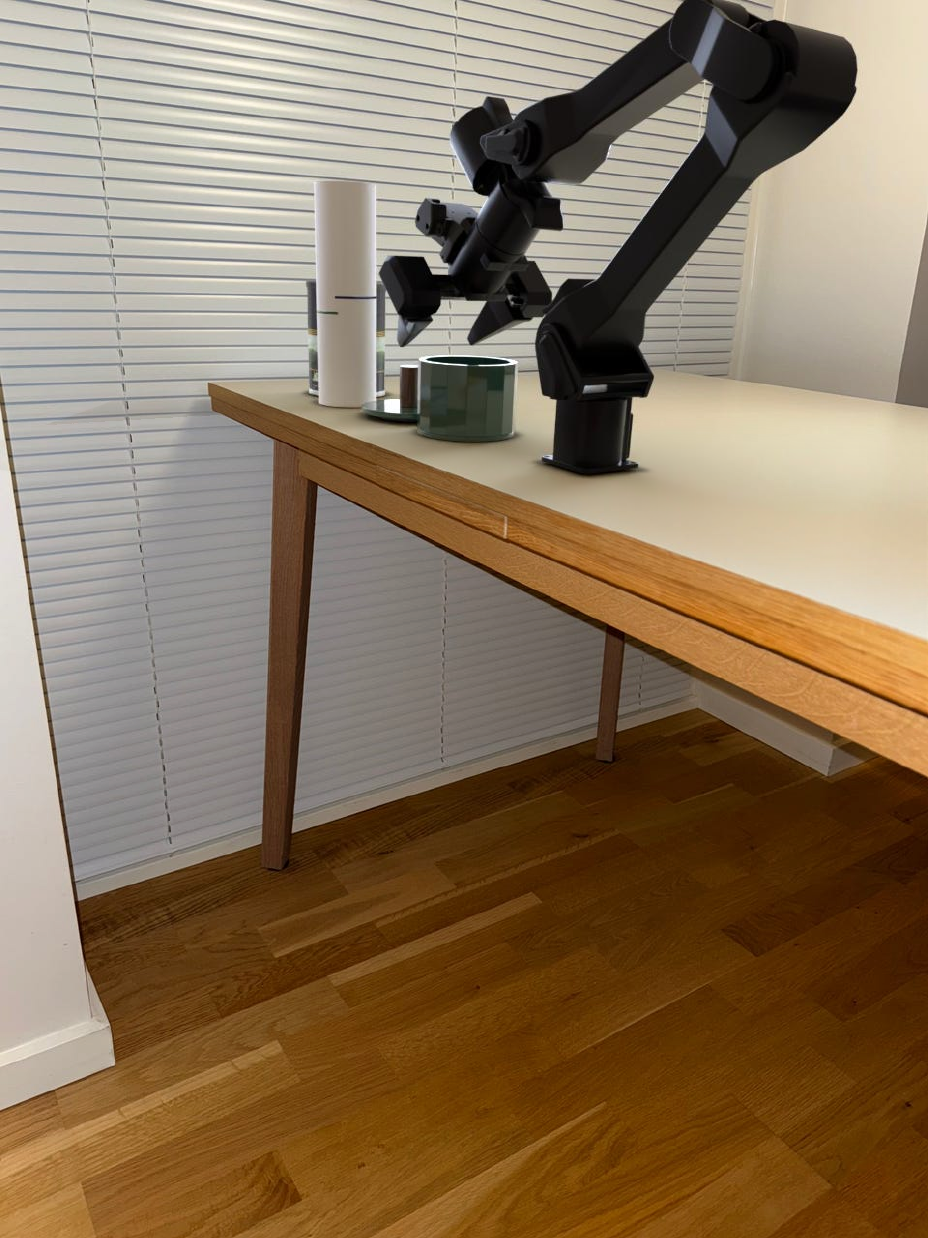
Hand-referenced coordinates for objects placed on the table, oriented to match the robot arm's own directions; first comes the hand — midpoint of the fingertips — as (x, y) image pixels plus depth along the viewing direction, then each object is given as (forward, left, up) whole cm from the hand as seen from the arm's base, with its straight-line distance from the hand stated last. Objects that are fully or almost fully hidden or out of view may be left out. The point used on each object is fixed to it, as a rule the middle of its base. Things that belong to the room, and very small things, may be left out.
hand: (435, 342), depth 101 cm
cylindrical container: (-2, +17, -9) cm, 19 cm away
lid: (0, +5, -8) cm, 9 cm away
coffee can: (+2, +25, -9) cm, 27 cm away
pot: (0, -7, -9) cm, 11 cm away
